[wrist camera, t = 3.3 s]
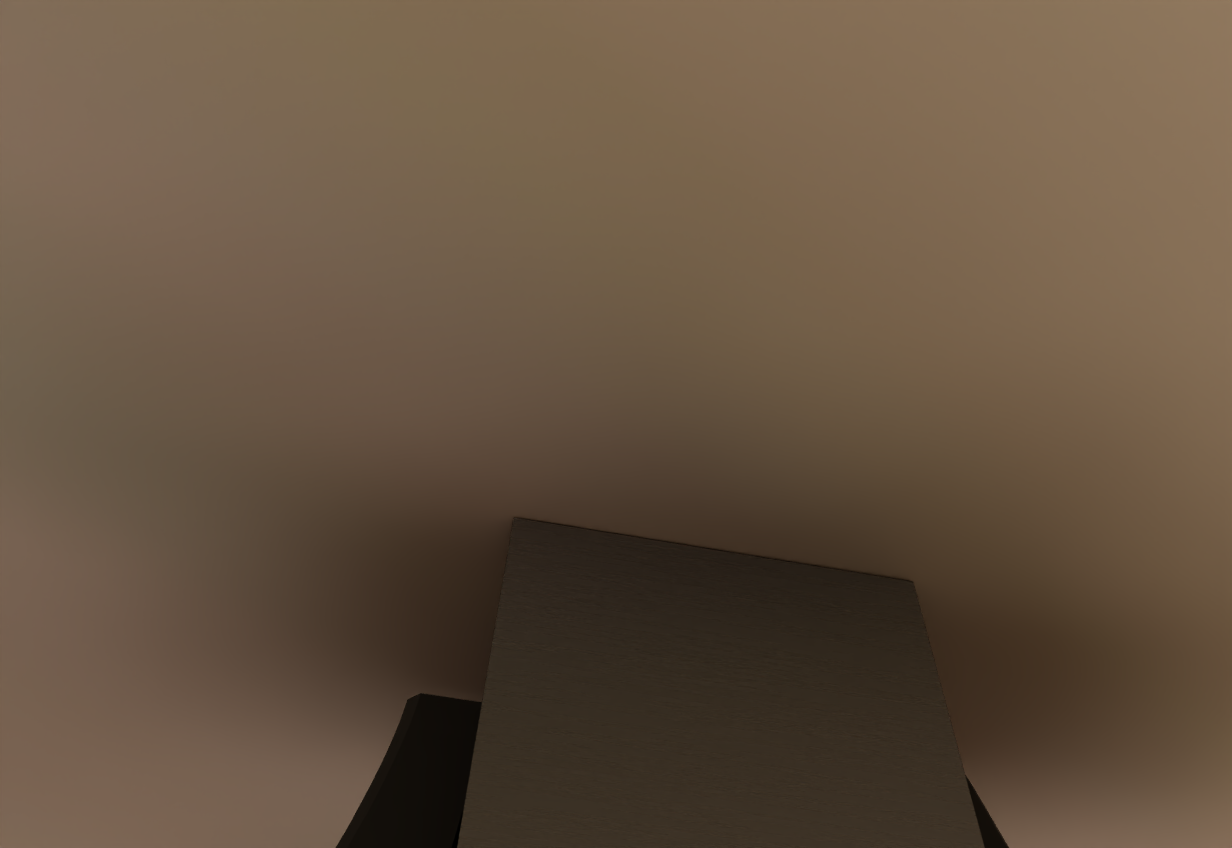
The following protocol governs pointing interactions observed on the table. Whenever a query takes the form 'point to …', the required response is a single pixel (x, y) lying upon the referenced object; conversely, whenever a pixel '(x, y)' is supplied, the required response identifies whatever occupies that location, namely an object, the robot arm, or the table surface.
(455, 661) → the table surface
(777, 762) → the block
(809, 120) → the table surface
